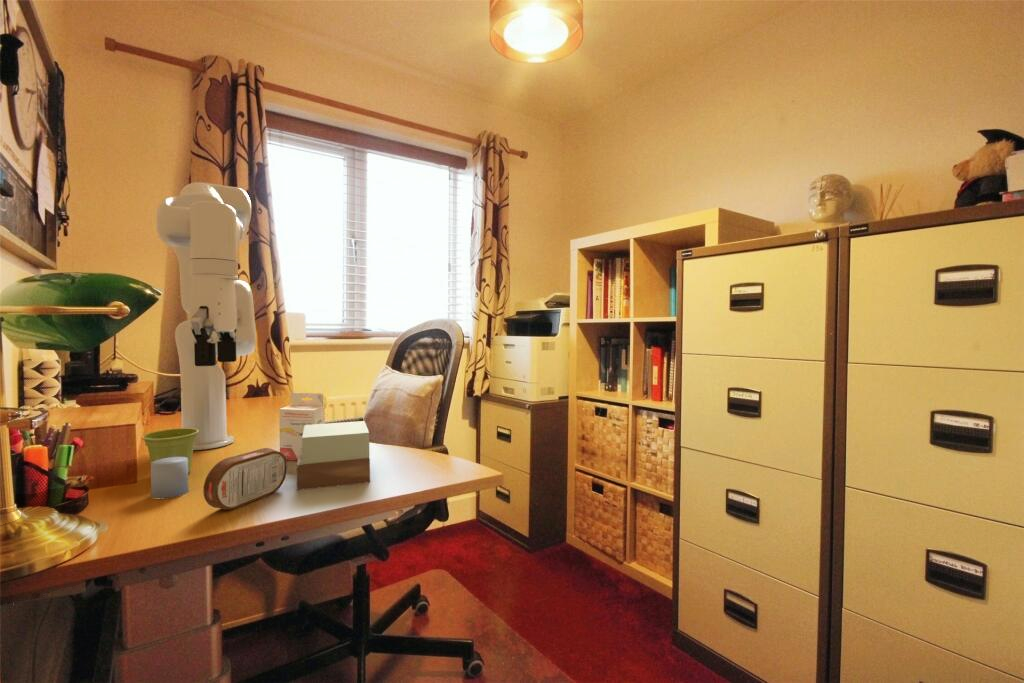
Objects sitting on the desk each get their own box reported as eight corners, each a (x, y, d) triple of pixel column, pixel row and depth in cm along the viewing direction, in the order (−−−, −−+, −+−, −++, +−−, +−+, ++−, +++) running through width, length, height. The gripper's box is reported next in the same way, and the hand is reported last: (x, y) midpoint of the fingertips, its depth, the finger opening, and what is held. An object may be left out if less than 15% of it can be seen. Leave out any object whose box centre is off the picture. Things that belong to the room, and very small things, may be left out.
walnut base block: (301, 471, 103) (301, 448, 103) (366, 465, 107) (365, 443, 107) (297, 491, 91) (296, 465, 90) (369, 484, 95) (369, 458, 95)
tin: (278, 486, 92) (277, 442, 92) (290, 488, 91) (290, 444, 91) (202, 515, 78) (200, 464, 78) (216, 518, 77) (214, 466, 77)
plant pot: (152, 486, 92) (151, 441, 92) (136, 476, 98) (135, 433, 98) (207, 474, 100) (206, 432, 99) (189, 465, 105) (188, 426, 105)
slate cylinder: (157, 490, 90) (156, 458, 90) (192, 487, 92) (191, 455, 92) (146, 500, 85) (145, 466, 85) (183, 497, 87) (182, 463, 87)
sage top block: (305, 448, 102) (304, 425, 102) (364, 443, 106) (364, 420, 106) (302, 464, 91) (302, 437, 91) (369, 458, 95) (369, 432, 95)
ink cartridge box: (278, 460, 109) (277, 395, 109) (290, 454, 114) (289, 392, 114) (315, 461, 109) (314, 396, 108) (325, 455, 114) (324, 392, 113)
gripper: (212, 275, 98) (214, 360, 99) (168, 265, 81) (171, 368, 82) (252, 276, 99) (254, 360, 100) (217, 266, 82) (220, 367, 83)
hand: (216, 363), depth 91 cm, fingers open, 9 cm apart
